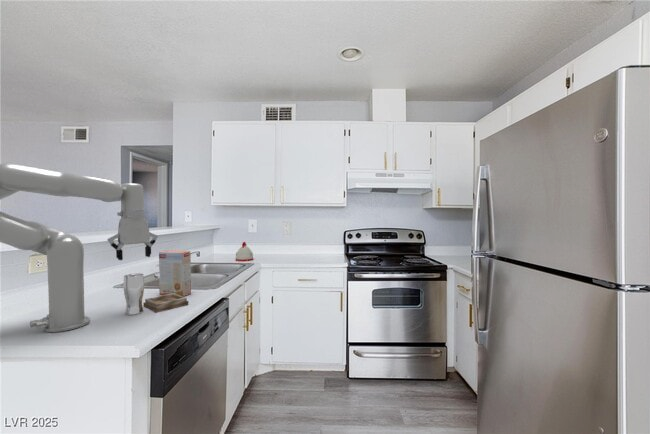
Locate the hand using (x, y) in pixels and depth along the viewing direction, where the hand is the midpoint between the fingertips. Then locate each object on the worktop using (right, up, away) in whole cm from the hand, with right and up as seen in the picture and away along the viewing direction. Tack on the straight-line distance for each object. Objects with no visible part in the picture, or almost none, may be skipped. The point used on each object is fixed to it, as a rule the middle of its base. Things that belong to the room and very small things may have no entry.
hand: (134, 258), depth 120 cm
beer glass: (0, -22, 0) cm, 22 cm away
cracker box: (+3, -21, +27) cm, 34 cm away
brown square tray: (+8, -21, +9) cm, 25 cm away
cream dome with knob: (+9, -19, +129) cm, 131 cm away
